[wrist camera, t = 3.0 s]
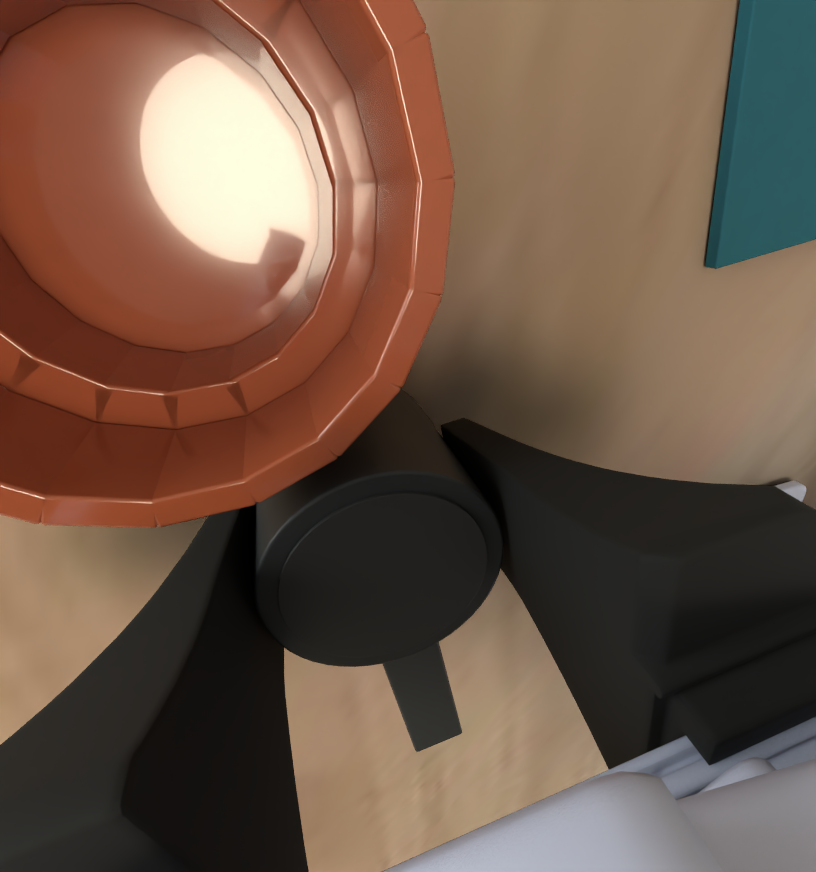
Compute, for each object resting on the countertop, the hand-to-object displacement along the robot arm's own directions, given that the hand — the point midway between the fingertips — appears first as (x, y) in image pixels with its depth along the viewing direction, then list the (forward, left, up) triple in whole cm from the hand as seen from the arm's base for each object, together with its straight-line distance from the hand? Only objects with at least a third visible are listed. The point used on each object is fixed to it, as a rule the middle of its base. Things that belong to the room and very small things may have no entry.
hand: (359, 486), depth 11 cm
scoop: (-2, 0, -1) cm, 3 cm away
